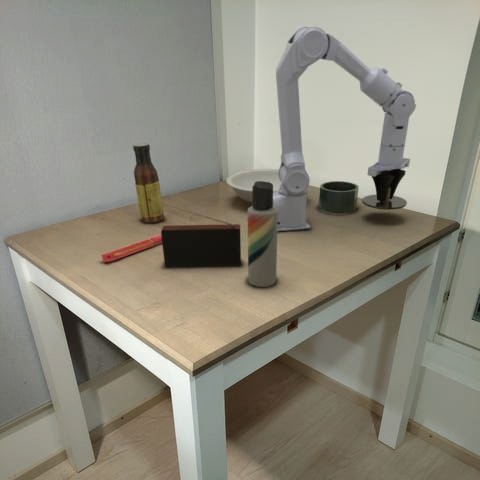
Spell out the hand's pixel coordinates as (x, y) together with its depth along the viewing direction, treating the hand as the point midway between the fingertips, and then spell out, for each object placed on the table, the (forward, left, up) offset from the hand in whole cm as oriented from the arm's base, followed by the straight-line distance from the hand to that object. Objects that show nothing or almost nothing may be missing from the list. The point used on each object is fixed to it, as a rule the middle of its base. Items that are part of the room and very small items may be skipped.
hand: (384, 199), depth 121 cm
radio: (-50, -17, -6) cm, 53 cm away
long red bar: (-61, -5, -6) cm, 62 cm away
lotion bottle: (-38, -28, -6) cm, 47 cm away
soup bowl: (-26, +23, -6) cm, 35 cm away
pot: (-8, +12, -6) cm, 15 cm away
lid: (0, 0, -1) cm, 1 cm away
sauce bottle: (-60, +14, -6) cm, 62 cm away
